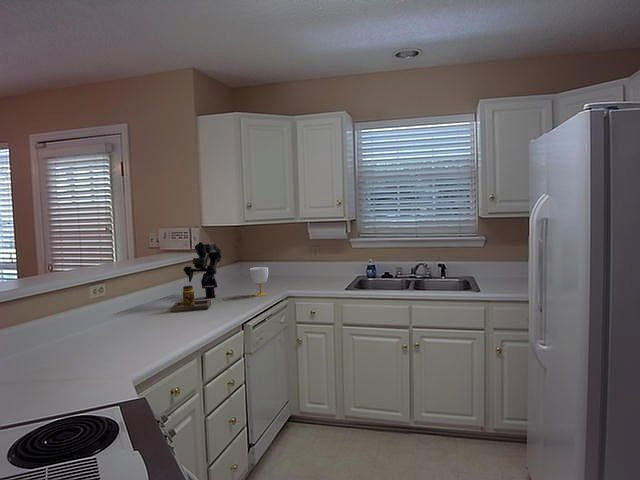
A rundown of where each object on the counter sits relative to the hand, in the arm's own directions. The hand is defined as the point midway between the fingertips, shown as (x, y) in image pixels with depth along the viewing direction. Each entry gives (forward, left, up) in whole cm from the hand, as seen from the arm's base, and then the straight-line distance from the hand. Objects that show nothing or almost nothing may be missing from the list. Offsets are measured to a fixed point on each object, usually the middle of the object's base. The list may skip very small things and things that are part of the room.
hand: (197, 281), depth 276 cm
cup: (-16, +36, -14) cm, 42 cm away
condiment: (+10, -4, -13) cm, 17 cm away
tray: (+10, -3, -14) cm, 17 cm away
